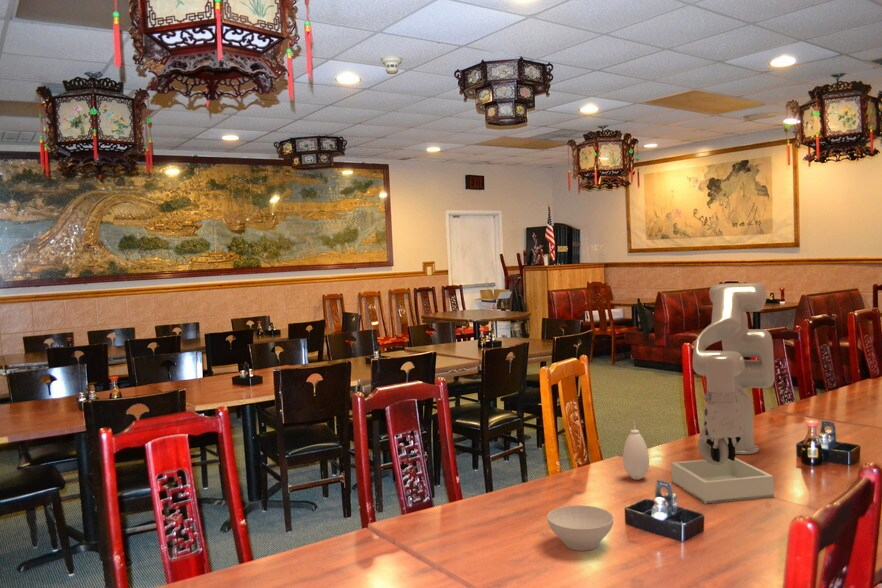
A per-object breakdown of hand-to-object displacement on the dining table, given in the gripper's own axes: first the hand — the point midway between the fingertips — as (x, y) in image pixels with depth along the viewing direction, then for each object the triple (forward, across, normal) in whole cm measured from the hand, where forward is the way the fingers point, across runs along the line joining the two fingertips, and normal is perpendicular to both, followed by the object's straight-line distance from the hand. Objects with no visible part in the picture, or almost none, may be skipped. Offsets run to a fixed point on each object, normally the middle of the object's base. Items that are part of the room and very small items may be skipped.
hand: (723, 459), depth 203 cm
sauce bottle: (+10, -19, +18) cm, 28 cm away
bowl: (+10, -52, -26) cm, 59 cm away
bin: (+9, 0, +2) cm, 10 cm away
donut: (+3, -1, +4) cm, 5 cm away
